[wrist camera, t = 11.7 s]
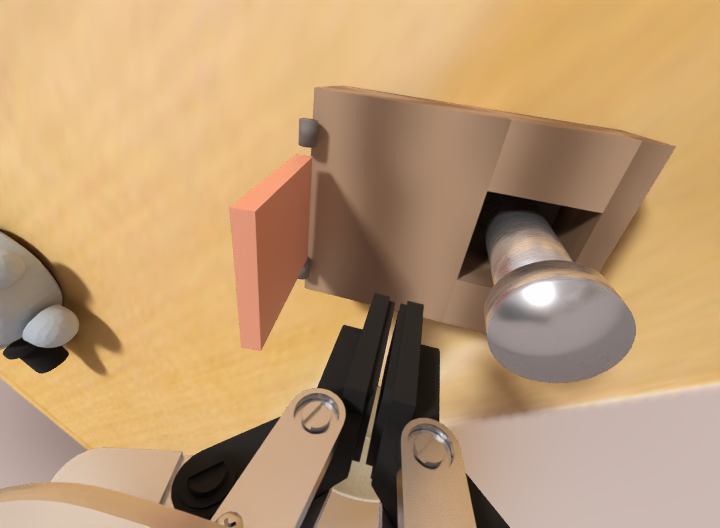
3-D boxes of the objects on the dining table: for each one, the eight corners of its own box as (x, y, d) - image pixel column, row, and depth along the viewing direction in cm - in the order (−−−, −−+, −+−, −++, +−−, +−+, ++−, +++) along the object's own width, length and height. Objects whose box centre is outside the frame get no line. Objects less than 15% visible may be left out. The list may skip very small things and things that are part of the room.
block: (621, 130, 18) (691, 151, 13) (533, 302, 24) (556, 362, 19) (335, 84, 20) (297, 86, 15) (322, 252, 26) (292, 295, 21)
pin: (561, 189, 20) (667, 301, 10) (532, 255, 22) (594, 396, 12) (483, 176, 20) (513, 268, 11) (463, 241, 23) (471, 364, 13)
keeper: (297, 154, 16) (312, 156, 16) (294, 256, 19) (307, 258, 19) (229, 207, 10) (255, 211, 10) (241, 347, 13) (260, 350, 13)
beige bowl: (376, 442, 37) (362, 513, 31) (307, 391, 35) (278, 456, 29) (441, 409, 32) (439, 486, 26) (364, 348, 30) (344, 416, 24)
